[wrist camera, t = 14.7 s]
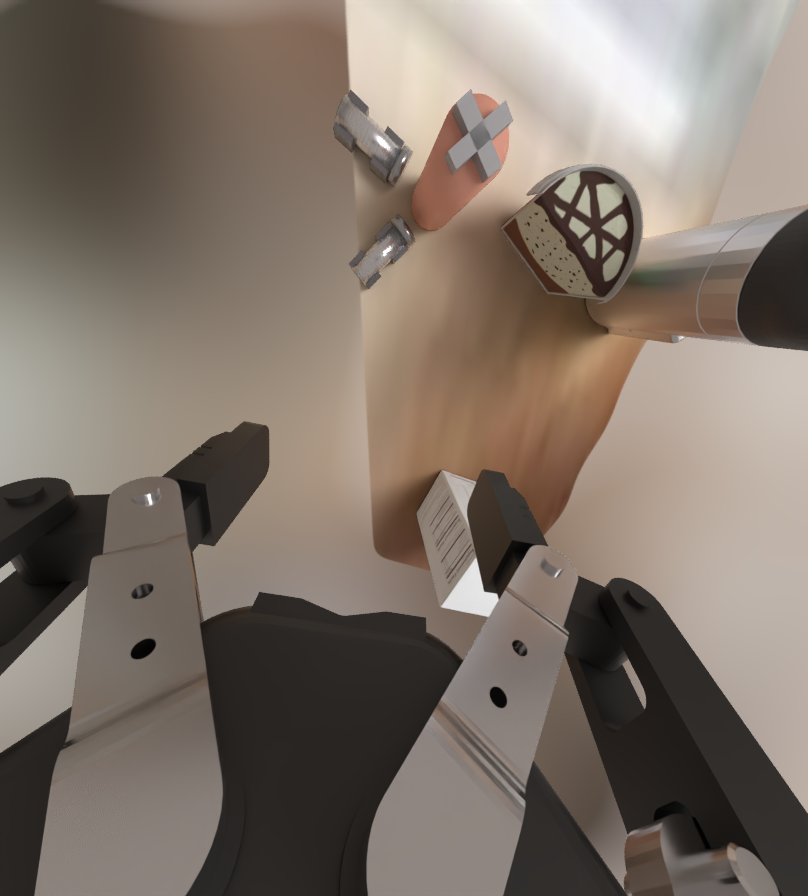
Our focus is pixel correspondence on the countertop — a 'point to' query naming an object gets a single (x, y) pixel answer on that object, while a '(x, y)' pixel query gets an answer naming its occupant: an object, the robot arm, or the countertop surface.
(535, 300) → the countertop surface
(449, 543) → the supplement box
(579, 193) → the food container
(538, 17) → the countertop surface
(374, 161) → the shaft
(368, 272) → the shaft
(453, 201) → the pink capped rod
